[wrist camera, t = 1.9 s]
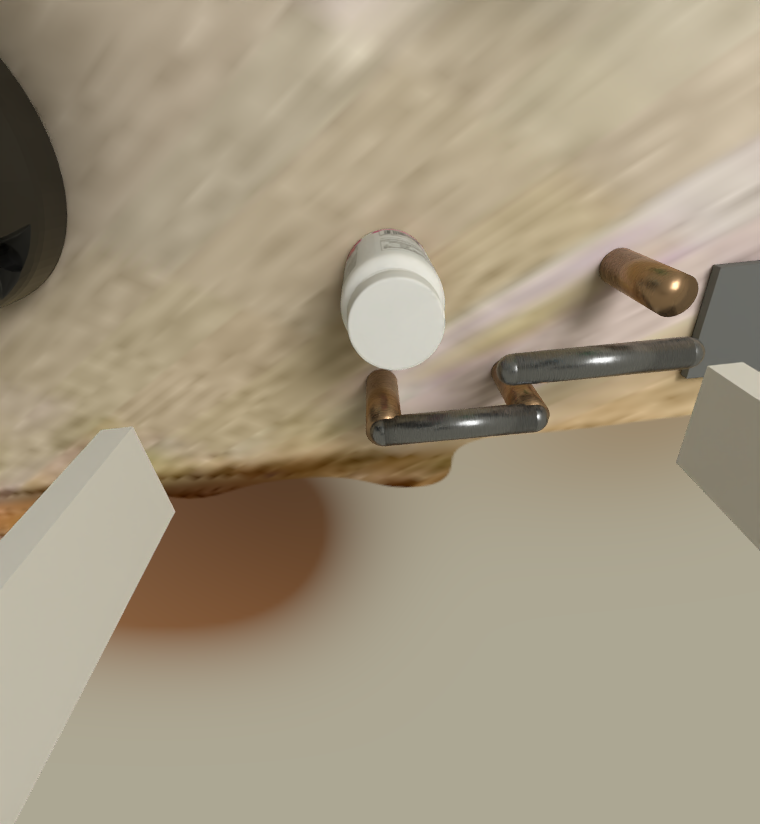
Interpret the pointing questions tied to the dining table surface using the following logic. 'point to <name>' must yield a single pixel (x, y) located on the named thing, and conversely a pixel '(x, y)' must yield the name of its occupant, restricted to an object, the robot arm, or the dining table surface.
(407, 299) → the pill bottle
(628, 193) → the dining table surface
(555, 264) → the dining table surface
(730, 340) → the pad
